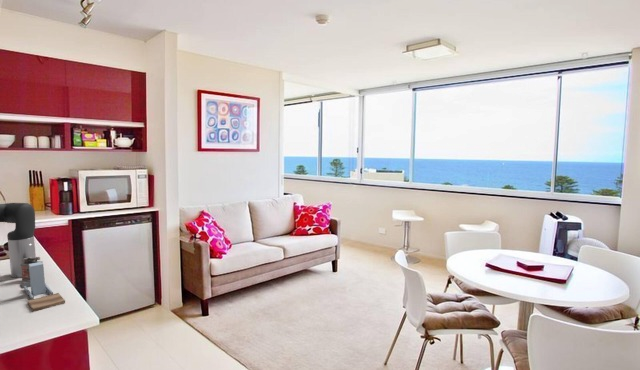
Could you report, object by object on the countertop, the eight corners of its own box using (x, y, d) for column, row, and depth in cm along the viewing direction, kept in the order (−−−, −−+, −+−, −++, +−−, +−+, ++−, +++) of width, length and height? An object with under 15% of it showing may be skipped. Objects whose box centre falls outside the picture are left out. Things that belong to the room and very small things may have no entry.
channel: (24, 289, 148) (24, 286, 148) (44, 284, 153) (43, 281, 152) (32, 301, 137) (32, 297, 137) (53, 295, 142) (53, 292, 142)
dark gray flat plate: (20, 284, 153) (20, 283, 153) (40, 279, 158) (40, 279, 158) (22, 288, 149) (22, 287, 149) (43, 283, 154) (43, 282, 154)
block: (31, 292, 145) (28, 264, 143) (43, 289, 148) (41, 261, 146) (33, 295, 142) (30, 266, 141) (45, 292, 145) (43, 263, 144)
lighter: (20, 281, 157) (18, 259, 155) (24, 278, 160) (22, 256, 159) (41, 279, 159) (39, 257, 158) (45, 276, 162) (43, 255, 161)
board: (27, 303, 135) (27, 300, 135) (58, 295, 142) (58, 292, 142) (33, 311, 129) (33, 308, 129) (65, 302, 136) (65, 300, 136)
